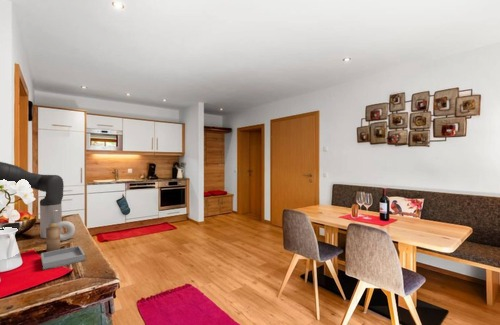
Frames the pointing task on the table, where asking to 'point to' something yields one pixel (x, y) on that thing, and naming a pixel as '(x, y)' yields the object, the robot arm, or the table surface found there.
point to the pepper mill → (53, 237)
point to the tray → (62, 257)
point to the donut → (69, 232)
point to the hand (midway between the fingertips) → (19, 226)
